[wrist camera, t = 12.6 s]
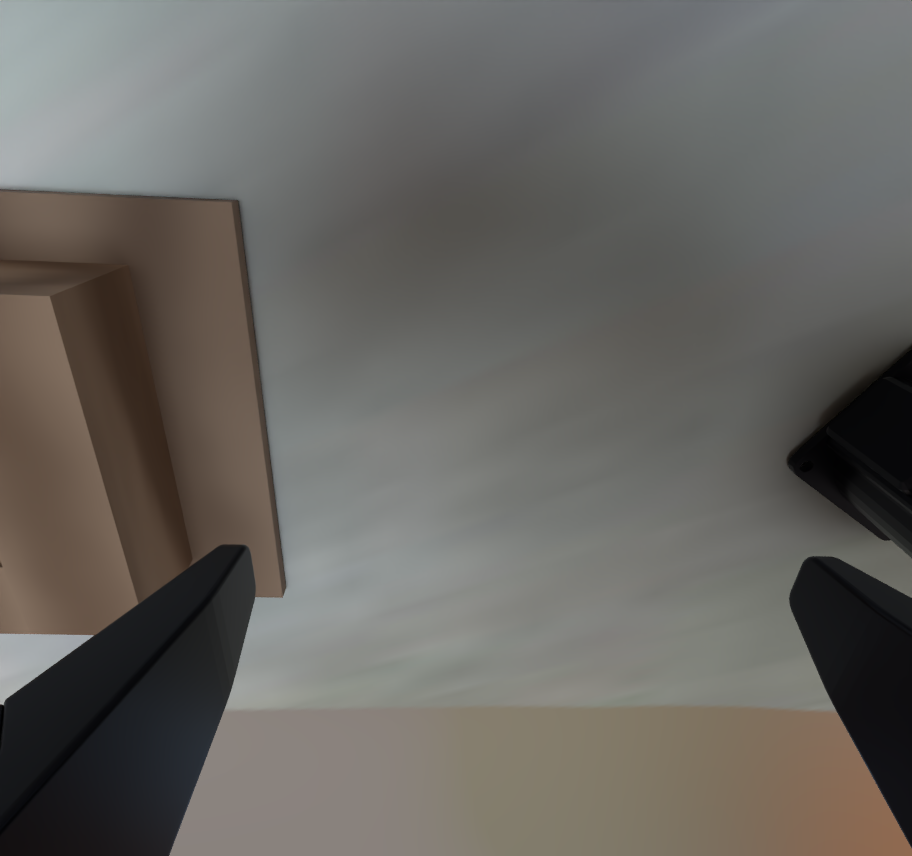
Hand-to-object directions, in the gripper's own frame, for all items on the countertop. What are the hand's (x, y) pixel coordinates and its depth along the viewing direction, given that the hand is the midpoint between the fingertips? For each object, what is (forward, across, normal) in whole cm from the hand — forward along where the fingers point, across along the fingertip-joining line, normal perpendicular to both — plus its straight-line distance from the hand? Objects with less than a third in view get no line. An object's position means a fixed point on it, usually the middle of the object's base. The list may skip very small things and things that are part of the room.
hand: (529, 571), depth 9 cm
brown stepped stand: (+12, +18, +4) cm, 22 cm away
